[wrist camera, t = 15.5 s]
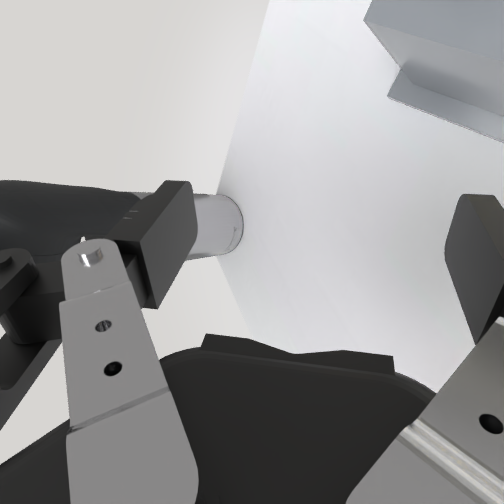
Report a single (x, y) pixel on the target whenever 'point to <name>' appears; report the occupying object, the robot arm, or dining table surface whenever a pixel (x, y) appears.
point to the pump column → (446, 58)
